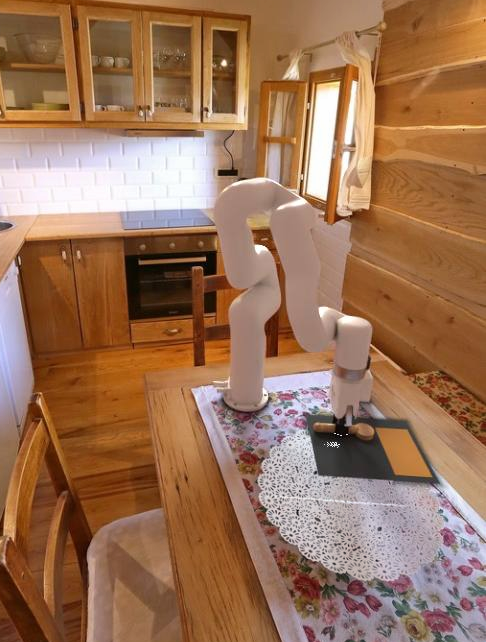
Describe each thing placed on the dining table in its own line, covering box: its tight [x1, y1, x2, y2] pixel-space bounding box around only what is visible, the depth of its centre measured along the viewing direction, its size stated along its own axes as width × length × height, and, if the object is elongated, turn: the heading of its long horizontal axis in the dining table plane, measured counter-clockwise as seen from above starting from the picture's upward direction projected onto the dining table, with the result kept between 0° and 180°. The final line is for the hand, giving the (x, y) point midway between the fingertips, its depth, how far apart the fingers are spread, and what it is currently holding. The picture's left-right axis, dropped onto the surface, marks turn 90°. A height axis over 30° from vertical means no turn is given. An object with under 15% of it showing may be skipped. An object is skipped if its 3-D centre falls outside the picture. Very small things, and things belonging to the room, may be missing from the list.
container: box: [359, 354, 374, 403], centre depth 115 cm, size 8×8×13 cm
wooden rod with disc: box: [313, 423, 374, 440], centre depth 101 cm, size 15×5×2 cm, turn 86°
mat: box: [305, 414, 441, 485], centre depth 98 cm, size 26×20×1 cm
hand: (339, 431), depth 101 cm, fingers closed on wooden rod with disc, 2 cm apart
